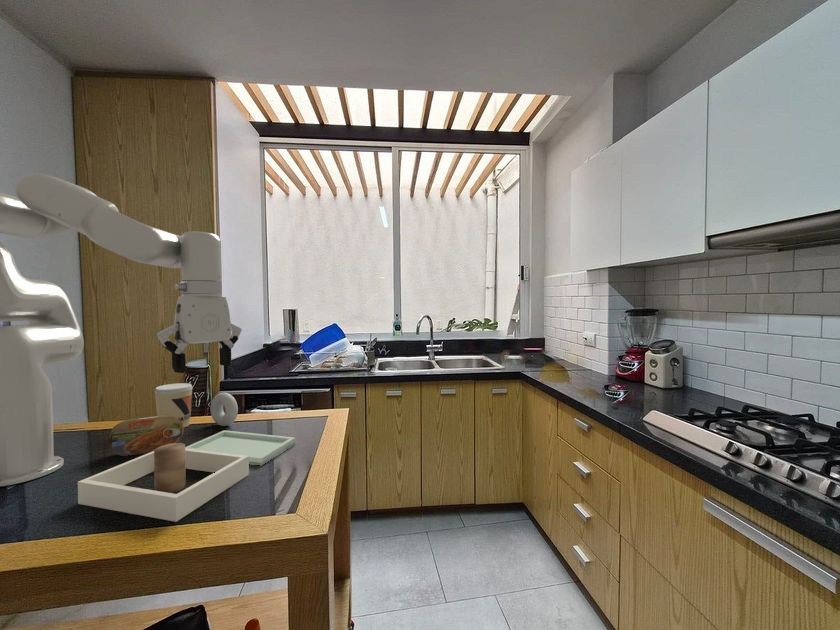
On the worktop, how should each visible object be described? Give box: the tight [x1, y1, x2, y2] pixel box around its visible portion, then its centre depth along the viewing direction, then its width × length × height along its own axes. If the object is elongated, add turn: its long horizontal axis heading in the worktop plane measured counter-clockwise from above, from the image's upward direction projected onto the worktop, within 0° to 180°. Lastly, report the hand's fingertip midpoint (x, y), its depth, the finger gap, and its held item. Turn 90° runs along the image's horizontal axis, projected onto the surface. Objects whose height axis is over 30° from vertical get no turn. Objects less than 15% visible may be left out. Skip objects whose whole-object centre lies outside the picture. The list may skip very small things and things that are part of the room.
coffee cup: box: [154, 382, 194, 428], centre depth 105 cm, size 9×9×12 cm
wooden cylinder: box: [153, 442, 187, 494], centre depth 69 cm, size 5×5×8 cm
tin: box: [106, 415, 185, 457], centre depth 87 cm, size 15×3×8 cm, turn 114°
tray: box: [185, 429, 296, 467], centre depth 88 cm, size 22×13×2 cm, turn 76°
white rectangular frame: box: [77, 448, 250, 523], centre depth 69 cm, size 22×17×4 cm
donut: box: [209, 392, 239, 427], centre depth 106 cm, size 10×4×10 cm, turn 65°
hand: (203, 368), depth 77 cm, fingers open, 9 cm apart
